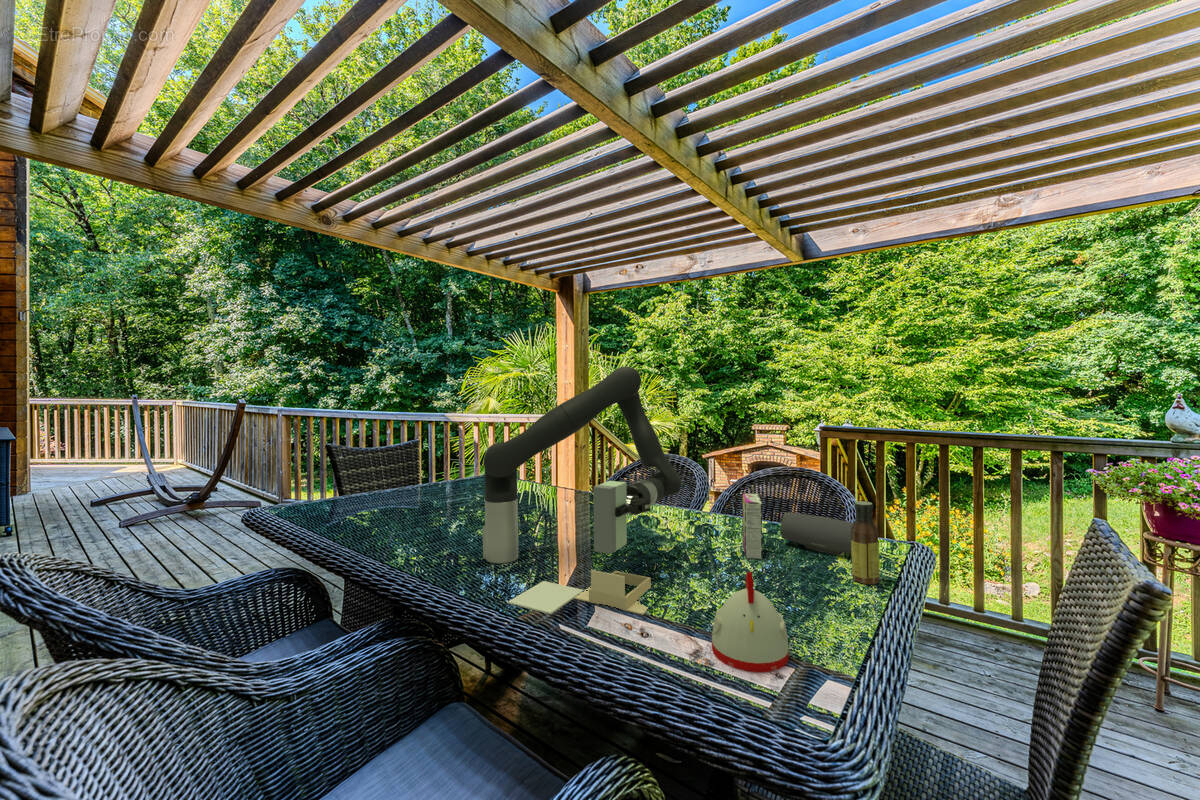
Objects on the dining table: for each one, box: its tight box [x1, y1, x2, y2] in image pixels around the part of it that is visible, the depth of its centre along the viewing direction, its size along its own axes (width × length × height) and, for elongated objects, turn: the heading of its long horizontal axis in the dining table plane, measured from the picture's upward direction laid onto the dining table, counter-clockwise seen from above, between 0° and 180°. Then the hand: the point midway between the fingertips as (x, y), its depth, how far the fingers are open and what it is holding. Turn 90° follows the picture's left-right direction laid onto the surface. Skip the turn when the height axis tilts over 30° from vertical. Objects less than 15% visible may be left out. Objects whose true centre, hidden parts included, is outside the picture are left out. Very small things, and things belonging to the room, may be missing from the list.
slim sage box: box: [592, 480, 628, 555], centre depth 124 cm, size 4×8×15 cm, turn 150°
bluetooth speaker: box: [779, 512, 854, 556], centre depth 156 cm, size 23×9×10 cm, turn 47°
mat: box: [507, 580, 585, 615], centre depth 125 cm, size 12×14×1 cm
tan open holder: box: [573, 569, 652, 616], centre depth 127 cm, size 18×17×8 cm
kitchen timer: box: [711, 571, 789, 673], centre depth 99 cm, size 14×14×15 cm
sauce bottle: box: [850, 500, 881, 585], centre depth 132 cm, size 6×6×20 cm
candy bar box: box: [741, 492, 763, 560], centre depth 154 cm, size 11×5×16 cm, turn 168°
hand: (606, 511), depth 123 cm, fingers closed on slim sage box, 4 cm apart
